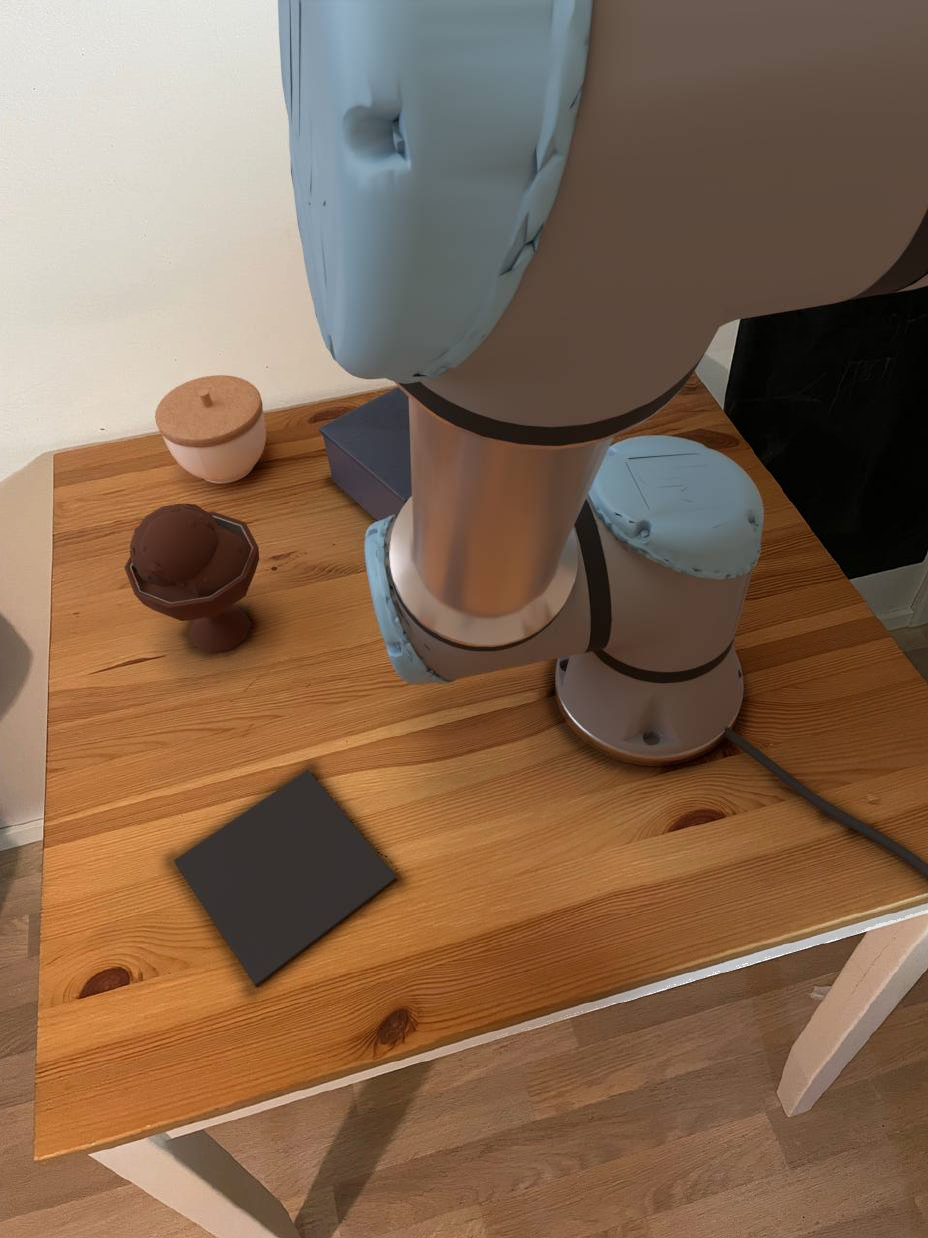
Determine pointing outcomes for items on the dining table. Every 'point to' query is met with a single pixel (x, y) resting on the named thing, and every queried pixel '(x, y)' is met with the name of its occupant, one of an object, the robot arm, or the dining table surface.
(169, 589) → the ice cream bowl
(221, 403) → the trinket box
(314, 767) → the dining table surface
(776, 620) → the dining table surface
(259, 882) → the mat
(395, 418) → the tin
